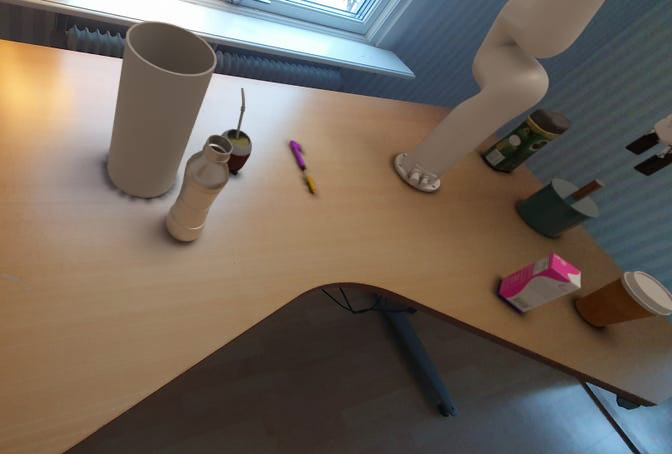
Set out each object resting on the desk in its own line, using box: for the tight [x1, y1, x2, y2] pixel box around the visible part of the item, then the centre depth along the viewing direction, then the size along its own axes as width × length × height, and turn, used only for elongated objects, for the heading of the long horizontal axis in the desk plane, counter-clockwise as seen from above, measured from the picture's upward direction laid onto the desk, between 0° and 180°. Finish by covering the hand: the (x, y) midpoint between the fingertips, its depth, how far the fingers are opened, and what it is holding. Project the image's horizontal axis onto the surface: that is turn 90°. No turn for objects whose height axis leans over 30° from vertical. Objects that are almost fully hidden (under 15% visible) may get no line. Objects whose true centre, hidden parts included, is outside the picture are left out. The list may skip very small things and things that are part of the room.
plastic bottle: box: [165, 134, 233, 242], centre depth 56 cm, size 6×7×20 cm
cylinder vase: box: [106, 20, 218, 199], centre depth 59 cm, size 12×12×25 cm
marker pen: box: [289, 140, 318, 195], centre depth 84 cm, size 3×1×16 cm
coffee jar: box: [483, 107, 572, 172], centre depth 106 cm, size 10×8×19 cm
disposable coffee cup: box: [575, 270, 672, 328], centre depth 78 cm, size 10×10×12 cm
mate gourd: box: [220, 87, 253, 177], centre depth 71 cm, size 8×8×15 cm
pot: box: [517, 183, 592, 238], centre depth 97 cm, size 12×12×9 cm
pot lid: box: [549, 178, 606, 220], centre depth 91 cm, size 13×13×7 cm
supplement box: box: [496, 252, 582, 314], centre depth 74 cm, size 6×6×12 cm
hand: (635, 161), depth 84 cm, fingers open, 9 cm apart
